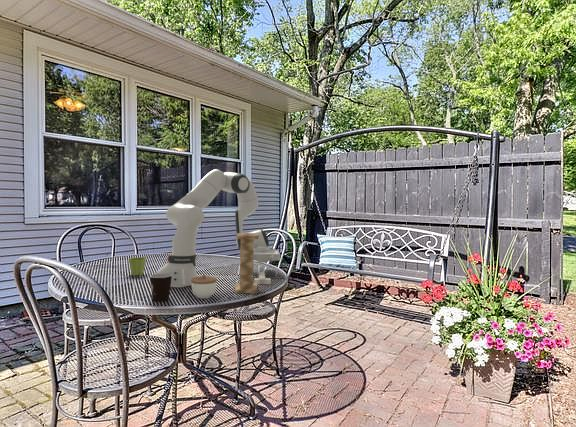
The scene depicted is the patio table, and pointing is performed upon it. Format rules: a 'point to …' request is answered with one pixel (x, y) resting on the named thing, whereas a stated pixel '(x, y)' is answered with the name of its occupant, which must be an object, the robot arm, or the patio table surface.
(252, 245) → the stand
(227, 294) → the patio table surface
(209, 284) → the lidded jar
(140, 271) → the plant pot
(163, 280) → the coffee mug
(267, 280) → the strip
